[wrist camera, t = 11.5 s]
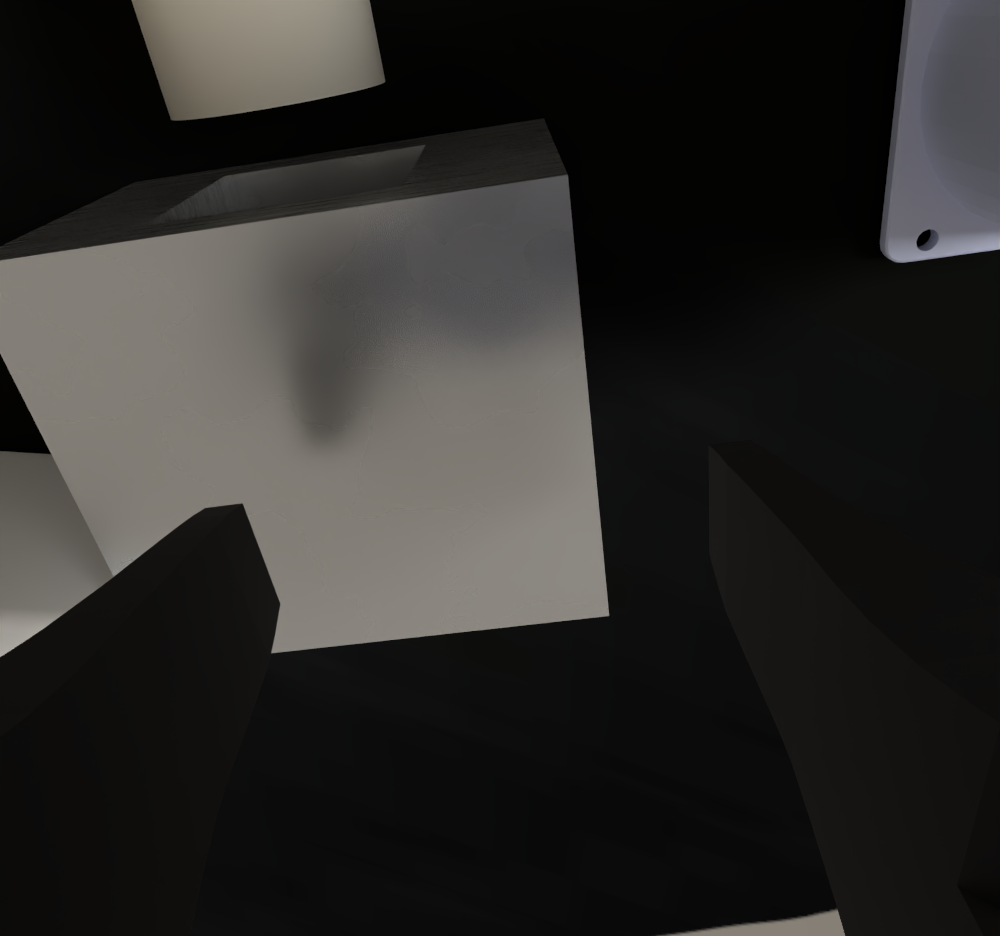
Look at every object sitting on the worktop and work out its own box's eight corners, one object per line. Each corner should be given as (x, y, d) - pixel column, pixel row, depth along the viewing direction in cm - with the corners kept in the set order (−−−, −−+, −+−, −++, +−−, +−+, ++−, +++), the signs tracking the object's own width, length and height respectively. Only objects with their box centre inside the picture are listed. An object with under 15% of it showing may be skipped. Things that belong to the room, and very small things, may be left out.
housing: (543, 118, 18) (567, 174, 12) (578, 449, 23) (608, 615, 16) (134, 182, 19) (-44, 267, 13) (248, 491, 23) (158, 665, 17)
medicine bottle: (22, 628, 26) (-286, 1030, 16) (-36, 443, 22) (-488, 811, 12) (236, 639, 26) (69, 1041, 16) (211, 459, 23) (-25, 831, 12)
